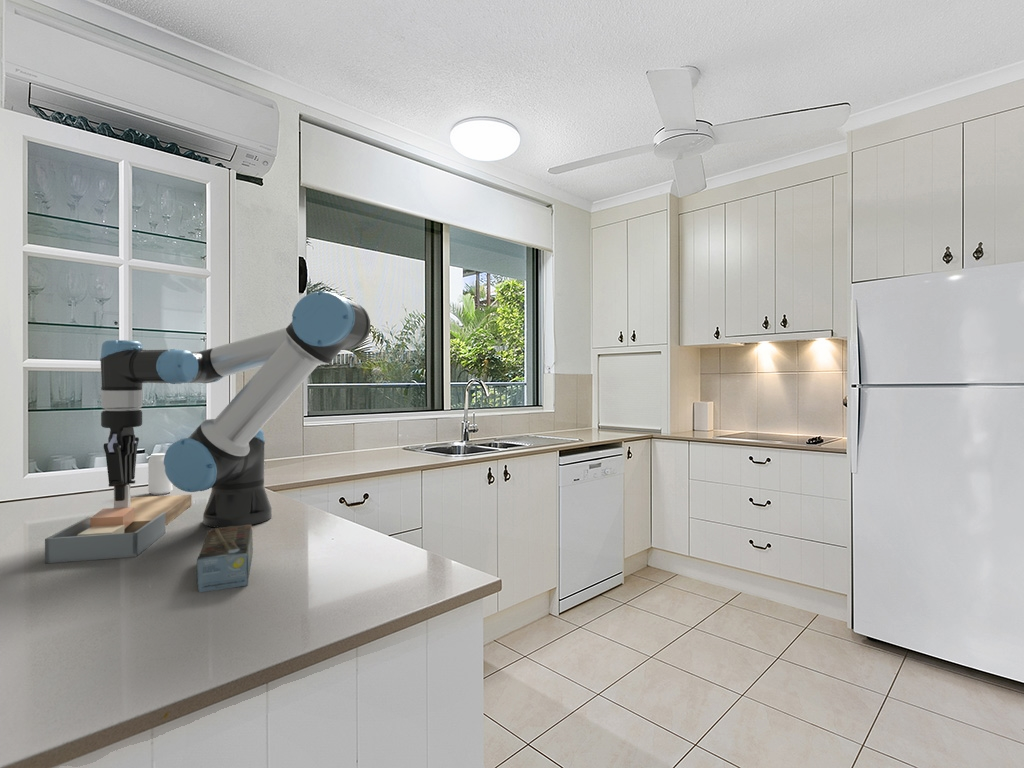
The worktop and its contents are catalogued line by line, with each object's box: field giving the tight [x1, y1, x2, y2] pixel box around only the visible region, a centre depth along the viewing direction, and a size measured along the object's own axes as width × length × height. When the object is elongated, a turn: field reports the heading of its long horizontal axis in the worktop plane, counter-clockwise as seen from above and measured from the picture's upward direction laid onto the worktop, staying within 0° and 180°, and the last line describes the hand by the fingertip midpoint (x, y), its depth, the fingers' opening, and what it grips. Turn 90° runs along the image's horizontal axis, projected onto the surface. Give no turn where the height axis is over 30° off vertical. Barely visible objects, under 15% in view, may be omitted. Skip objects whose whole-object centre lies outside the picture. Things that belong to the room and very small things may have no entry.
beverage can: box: [147, 452, 174, 496], centre depth 165 cm, size 6×6×12 cm
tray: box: [44, 513, 166, 564], centre depth 113 cm, size 15×17×5 cm
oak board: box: [124, 494, 192, 533], centre depth 134 cm, size 14×28×3 cm, turn 16°
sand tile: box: [77, 525, 124, 536], centre depth 113 cm, size 6×6×3 cm
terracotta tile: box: [90, 507, 135, 529], centre depth 119 cm, size 6×6×3 cm
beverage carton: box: [196, 524, 254, 593], centre depth 99 cm, size 8×19×7 cm, turn 23°
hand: (122, 514), depth 122 cm, fingers closed
